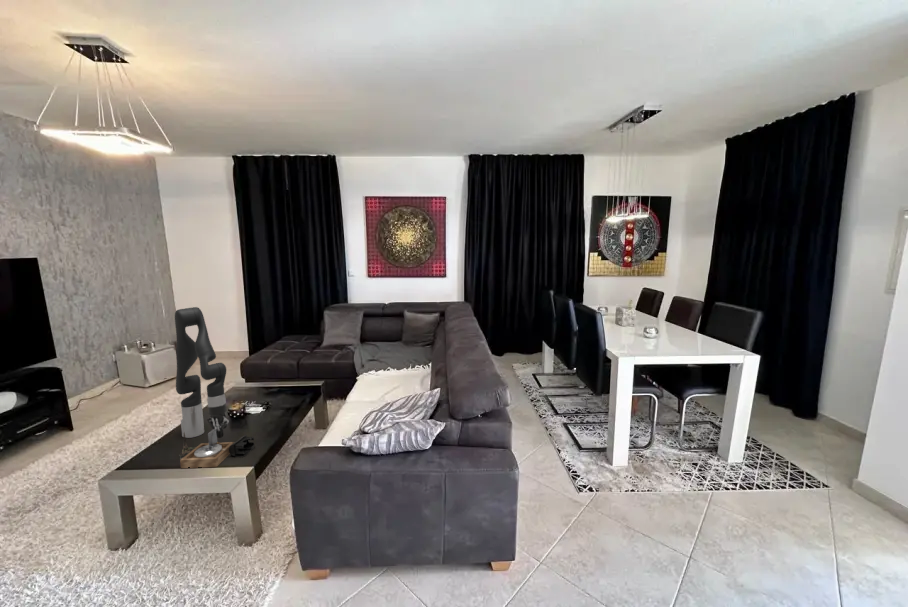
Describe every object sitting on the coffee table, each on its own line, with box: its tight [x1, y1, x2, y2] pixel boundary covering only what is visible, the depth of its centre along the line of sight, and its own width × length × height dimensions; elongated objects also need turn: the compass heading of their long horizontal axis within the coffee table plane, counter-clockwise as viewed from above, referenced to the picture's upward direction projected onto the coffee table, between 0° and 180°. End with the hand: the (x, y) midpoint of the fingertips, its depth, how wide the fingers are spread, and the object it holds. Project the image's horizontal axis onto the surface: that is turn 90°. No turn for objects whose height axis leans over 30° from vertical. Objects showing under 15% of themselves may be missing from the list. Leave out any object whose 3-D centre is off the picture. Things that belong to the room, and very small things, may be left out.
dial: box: [194, 429, 222, 458], centre depth 179 cm, size 13×11×9 cm
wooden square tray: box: [179, 441, 235, 469], centre depth 179 cm, size 16×16×4 cm
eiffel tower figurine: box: [178, 433, 196, 460], centre depth 182 cm, size 15×10×13 cm
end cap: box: [229, 434, 255, 458], centre depth 185 cm, size 10×7×7 cm
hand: (220, 437), depth 183 cm, fingers closed
